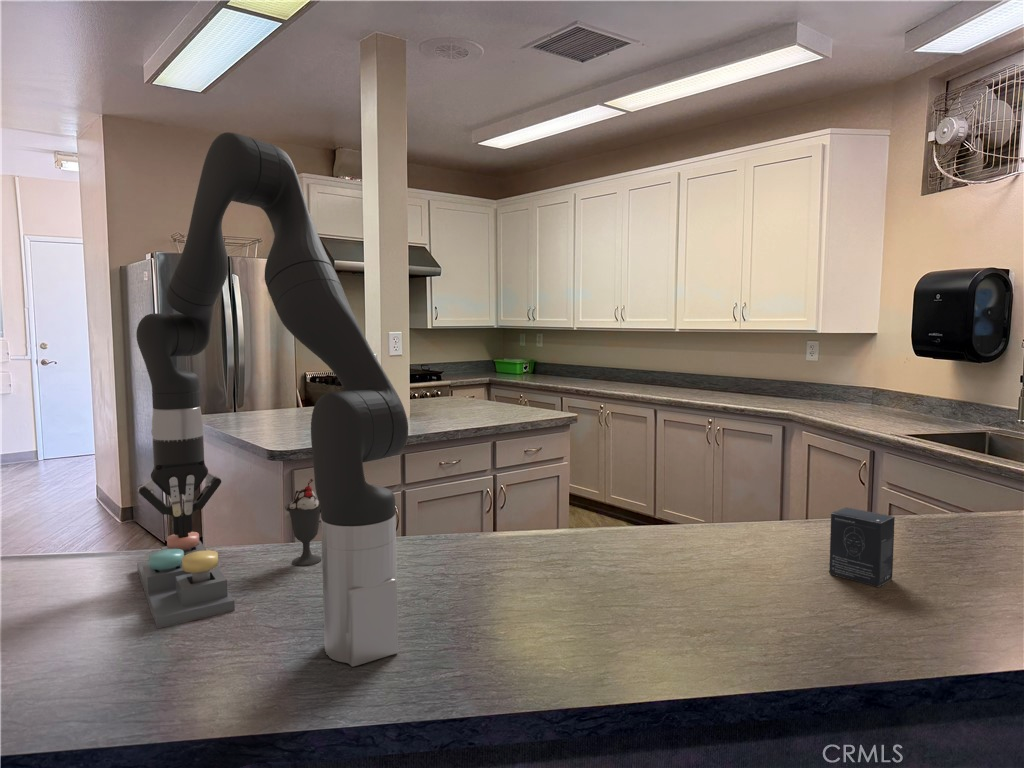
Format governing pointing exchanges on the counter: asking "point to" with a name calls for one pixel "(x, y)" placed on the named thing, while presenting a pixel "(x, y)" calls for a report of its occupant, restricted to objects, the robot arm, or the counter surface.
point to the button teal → (166, 559)
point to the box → (862, 546)
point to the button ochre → (200, 564)
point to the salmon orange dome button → (183, 541)
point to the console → (184, 593)
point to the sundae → (305, 523)
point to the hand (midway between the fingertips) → (182, 536)
